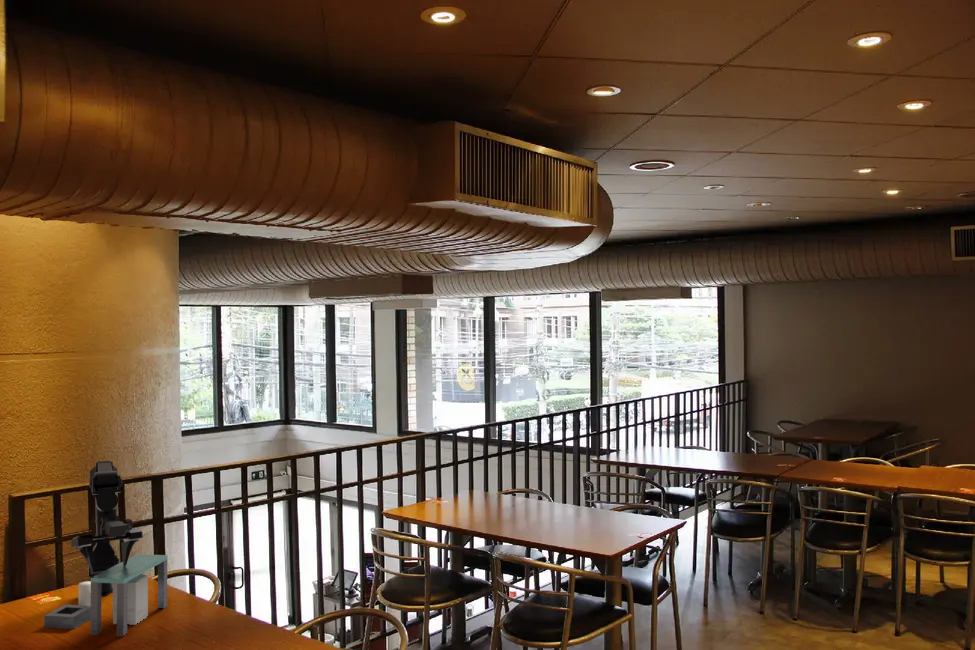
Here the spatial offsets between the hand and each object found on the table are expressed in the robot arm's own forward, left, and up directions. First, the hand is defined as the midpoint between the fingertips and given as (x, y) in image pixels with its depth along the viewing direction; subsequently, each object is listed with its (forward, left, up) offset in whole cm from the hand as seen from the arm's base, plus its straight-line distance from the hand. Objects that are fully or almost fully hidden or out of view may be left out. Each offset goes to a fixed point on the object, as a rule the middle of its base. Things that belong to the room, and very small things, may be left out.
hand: (109, 568), depth 232 cm
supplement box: (-4, +5, -17) cm, 18 cm away
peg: (-11, -14, -17) cm, 25 cm away
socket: (0, -12, -17) cm, 21 cm away
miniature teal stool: (-4, +5, -17) cm, 18 cm away
